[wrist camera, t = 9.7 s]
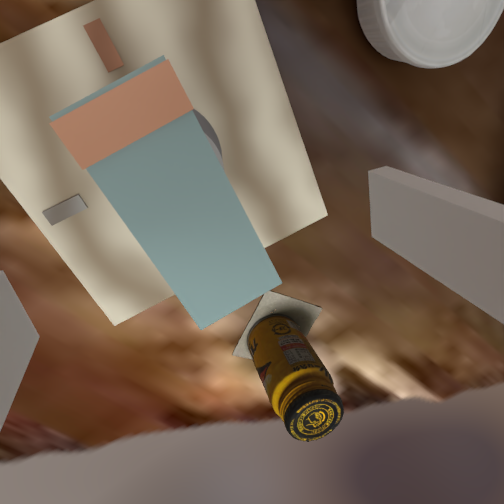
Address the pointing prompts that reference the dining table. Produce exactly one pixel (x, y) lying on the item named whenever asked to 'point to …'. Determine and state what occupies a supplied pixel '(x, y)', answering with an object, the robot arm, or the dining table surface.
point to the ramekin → (428, 28)
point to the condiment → (291, 366)
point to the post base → (205, 109)
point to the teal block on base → (169, 189)
